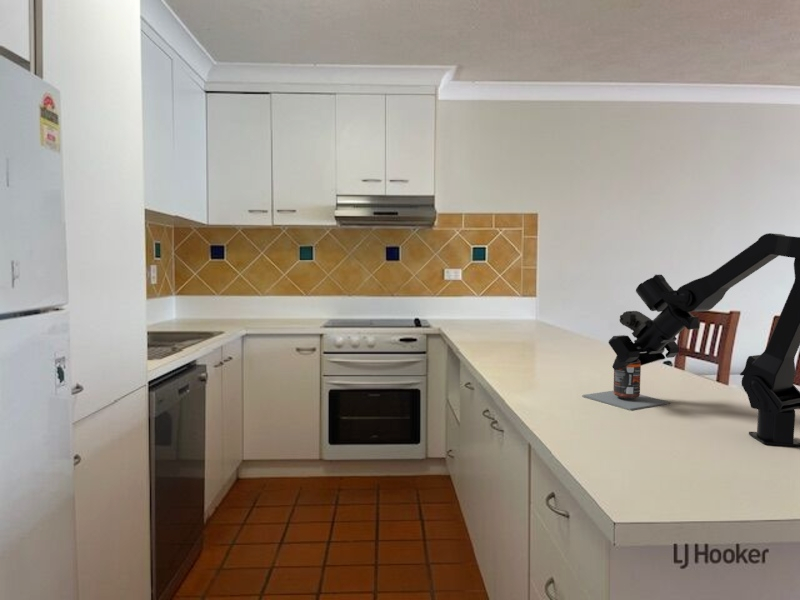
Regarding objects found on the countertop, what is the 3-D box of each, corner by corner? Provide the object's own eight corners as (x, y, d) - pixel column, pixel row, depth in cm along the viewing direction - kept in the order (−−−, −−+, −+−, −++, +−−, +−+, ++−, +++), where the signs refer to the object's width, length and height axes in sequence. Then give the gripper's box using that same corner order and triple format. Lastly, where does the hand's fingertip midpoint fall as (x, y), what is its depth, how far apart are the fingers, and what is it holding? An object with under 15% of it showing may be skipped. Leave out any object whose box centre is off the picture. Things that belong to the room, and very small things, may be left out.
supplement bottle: (637, 400, 128) (638, 352, 127) (610, 396, 131) (611, 350, 131) (642, 394, 133) (643, 348, 132) (616, 391, 136) (617, 346, 136)
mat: (670, 403, 130) (670, 401, 130) (630, 410, 123) (630, 408, 123) (620, 391, 142) (620, 389, 142) (582, 396, 135) (582, 395, 135)
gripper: (669, 299, 132) (629, 339, 142) (616, 300, 123) (577, 343, 133) (699, 335, 125) (655, 374, 136) (646, 339, 116) (602, 381, 127)
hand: (622, 367), depth 133 cm, fingers closed on supplement bottle, 6 cm apart
